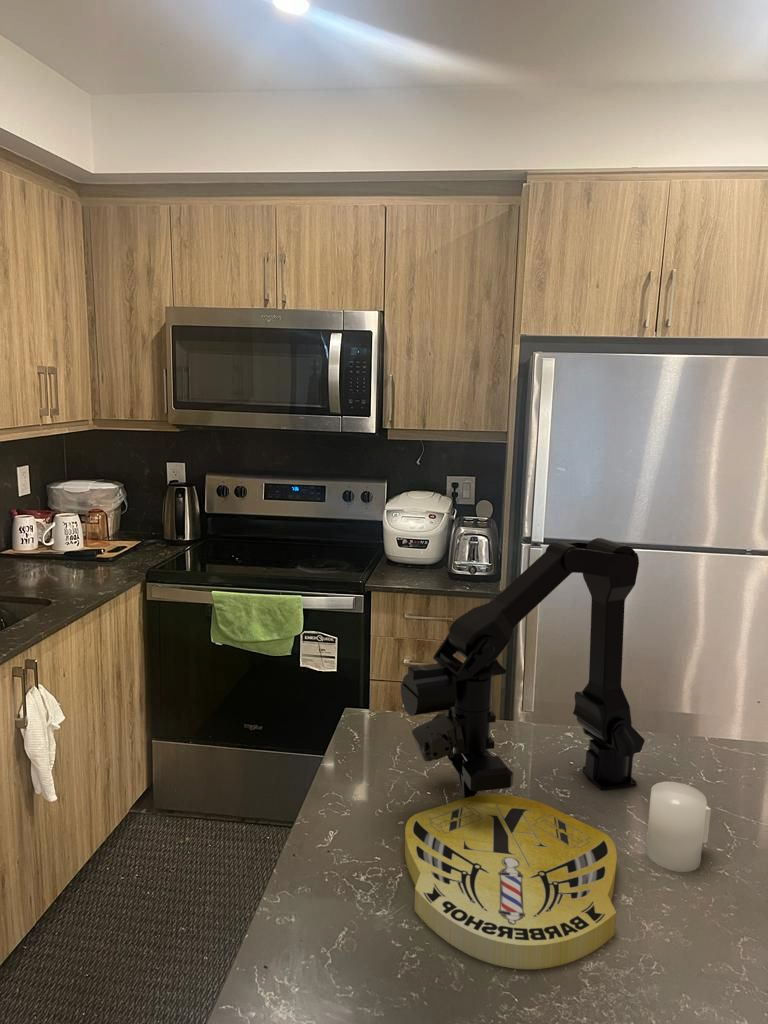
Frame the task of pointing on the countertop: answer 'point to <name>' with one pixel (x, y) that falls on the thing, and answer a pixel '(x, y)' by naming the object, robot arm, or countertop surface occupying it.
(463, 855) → the sign
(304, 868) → the countertop surface
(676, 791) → the night light
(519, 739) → the countertop surface
